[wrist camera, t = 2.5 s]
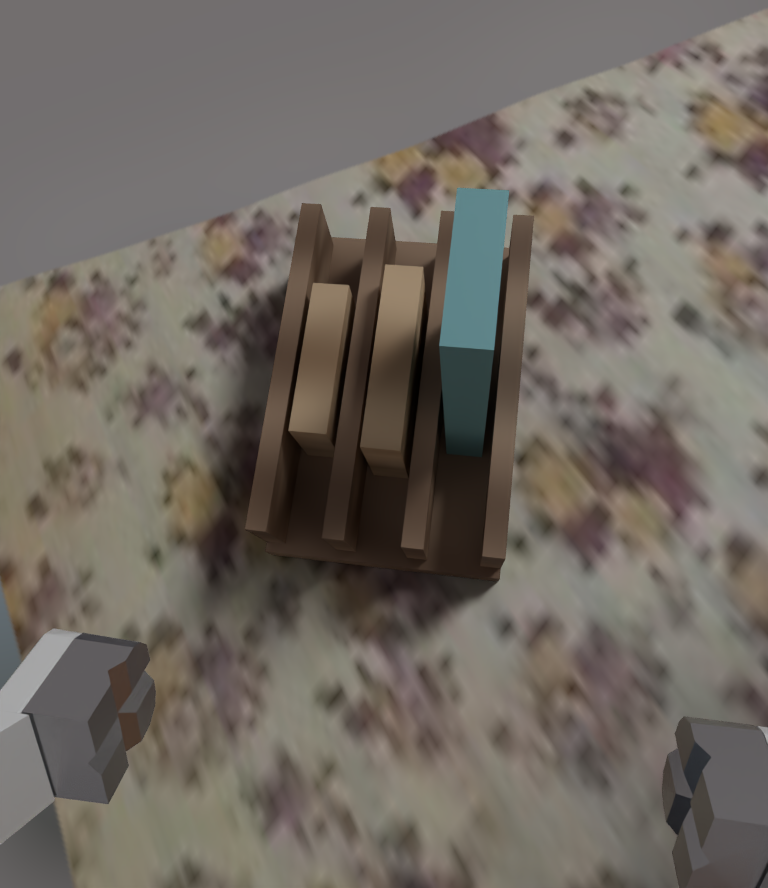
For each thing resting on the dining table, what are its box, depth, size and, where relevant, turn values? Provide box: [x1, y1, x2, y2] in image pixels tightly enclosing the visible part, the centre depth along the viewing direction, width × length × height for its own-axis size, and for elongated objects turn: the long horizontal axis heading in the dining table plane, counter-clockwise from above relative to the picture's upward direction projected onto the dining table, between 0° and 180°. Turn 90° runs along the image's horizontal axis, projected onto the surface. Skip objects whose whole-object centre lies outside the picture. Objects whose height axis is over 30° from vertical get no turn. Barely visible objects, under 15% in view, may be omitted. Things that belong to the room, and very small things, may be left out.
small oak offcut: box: [288, 283, 356, 458], centre depth 37 cm, size 8×2×4 cm, turn 173°
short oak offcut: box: [360, 264, 428, 479], centre depth 36 cm, size 9×2×6 cm, turn 173°
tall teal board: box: [439, 188, 509, 457], centre depth 32 cm, size 6×2×14 cm, turn 173°
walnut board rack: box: [245, 203, 534, 582], centre depth 38 cm, size 18×12×6 cm, turn 173°
